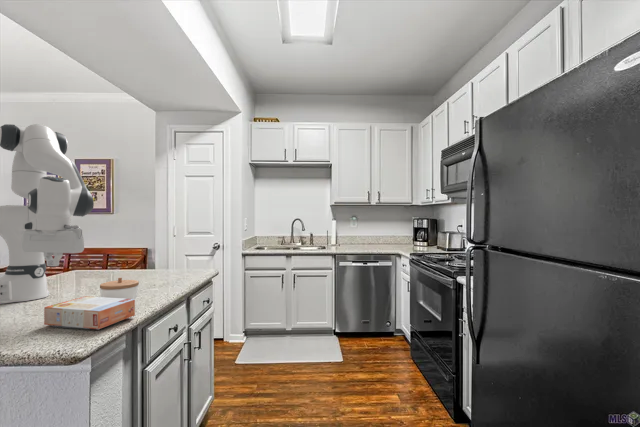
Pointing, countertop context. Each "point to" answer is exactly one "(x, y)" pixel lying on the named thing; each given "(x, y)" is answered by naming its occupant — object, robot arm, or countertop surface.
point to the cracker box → (89, 312)
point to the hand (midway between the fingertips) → (52, 266)
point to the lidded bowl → (120, 289)
